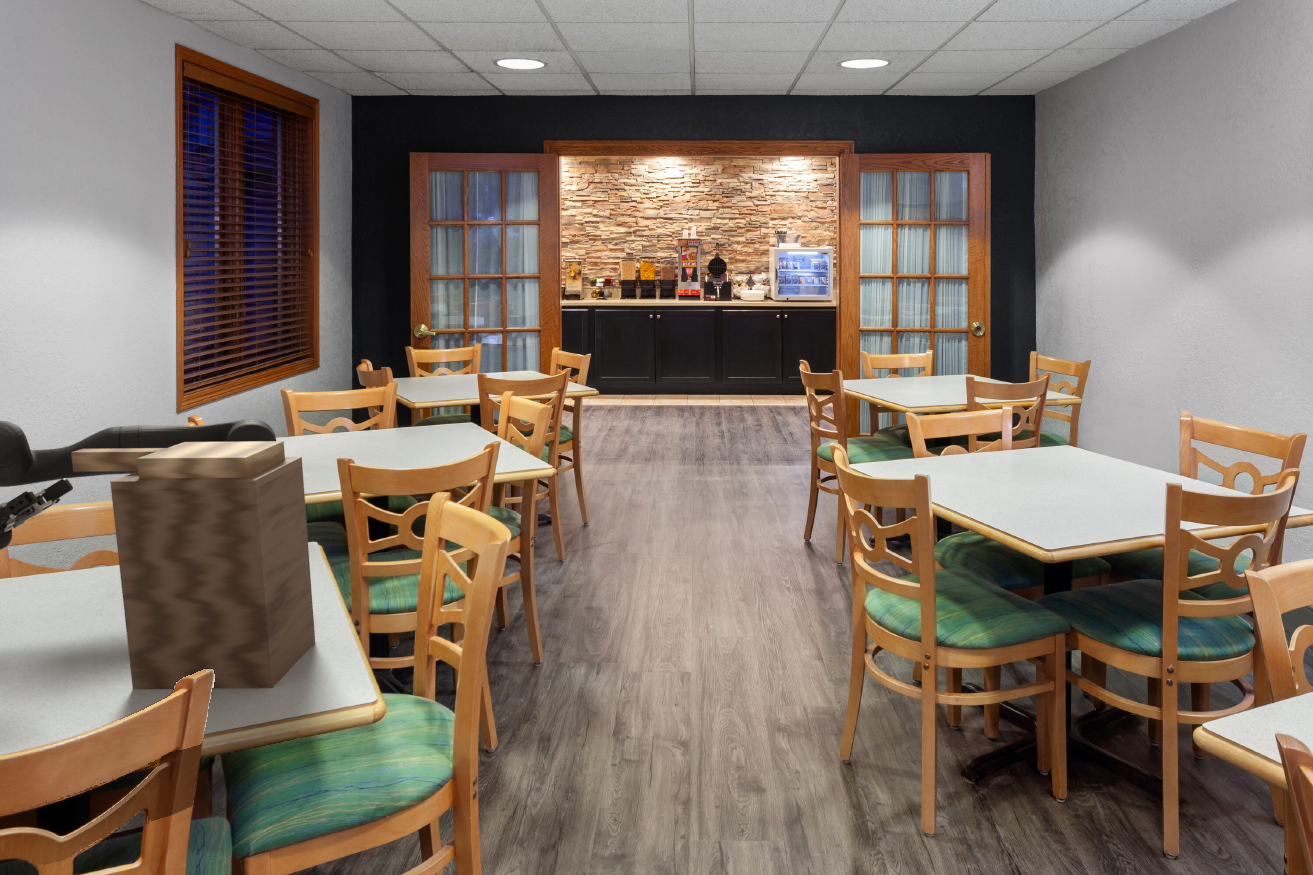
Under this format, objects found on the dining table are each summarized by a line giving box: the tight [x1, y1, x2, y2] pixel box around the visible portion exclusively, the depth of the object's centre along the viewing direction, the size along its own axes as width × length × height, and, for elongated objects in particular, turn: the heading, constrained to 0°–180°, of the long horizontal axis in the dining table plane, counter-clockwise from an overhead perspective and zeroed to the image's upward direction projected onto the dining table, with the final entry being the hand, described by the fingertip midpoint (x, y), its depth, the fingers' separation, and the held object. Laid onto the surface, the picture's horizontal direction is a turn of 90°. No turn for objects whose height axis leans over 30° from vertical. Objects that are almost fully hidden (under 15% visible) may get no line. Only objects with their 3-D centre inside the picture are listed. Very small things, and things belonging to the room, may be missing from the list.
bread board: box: [71, 440, 286, 478], centre depth 142 cm, size 29×14×3 cm, turn 90°
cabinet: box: [110, 456, 316, 690], centre depth 145 cm, size 21×18×32 cm
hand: (51, 489), depth 143 cm, fingers open, 8 cm apart
